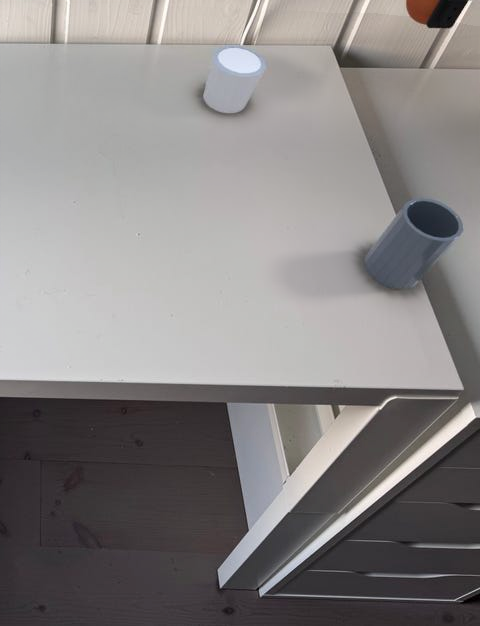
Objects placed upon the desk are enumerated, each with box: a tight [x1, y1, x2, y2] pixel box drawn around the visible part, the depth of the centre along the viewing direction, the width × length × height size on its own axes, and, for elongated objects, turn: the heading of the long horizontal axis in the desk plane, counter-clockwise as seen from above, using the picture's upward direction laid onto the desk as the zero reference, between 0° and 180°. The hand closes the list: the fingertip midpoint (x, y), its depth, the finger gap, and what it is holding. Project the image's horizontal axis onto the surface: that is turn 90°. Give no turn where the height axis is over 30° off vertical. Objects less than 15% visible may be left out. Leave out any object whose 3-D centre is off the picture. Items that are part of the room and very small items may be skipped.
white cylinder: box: [202, 44, 267, 114], centre depth 89 cm, size 7×7×7 cm
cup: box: [363, 197, 464, 291], centre depth 73 cm, size 6×6×9 cm
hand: (428, 10), depth 87 cm, fingers closed on ball, 6 cm apart
